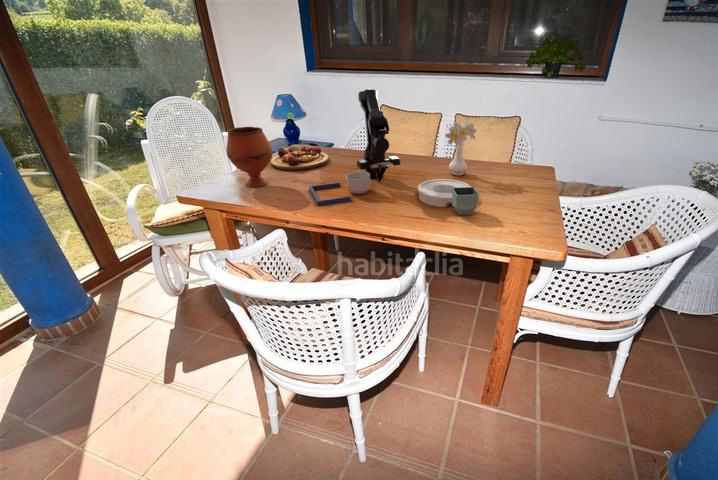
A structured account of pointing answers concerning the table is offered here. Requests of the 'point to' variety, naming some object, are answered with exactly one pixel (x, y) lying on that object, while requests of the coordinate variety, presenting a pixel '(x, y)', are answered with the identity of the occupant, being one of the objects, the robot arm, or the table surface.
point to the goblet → (249, 152)
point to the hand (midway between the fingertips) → (379, 181)
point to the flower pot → (465, 200)
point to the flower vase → (459, 145)
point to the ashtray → (438, 191)
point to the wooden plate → (299, 158)
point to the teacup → (358, 182)
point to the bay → (327, 201)
